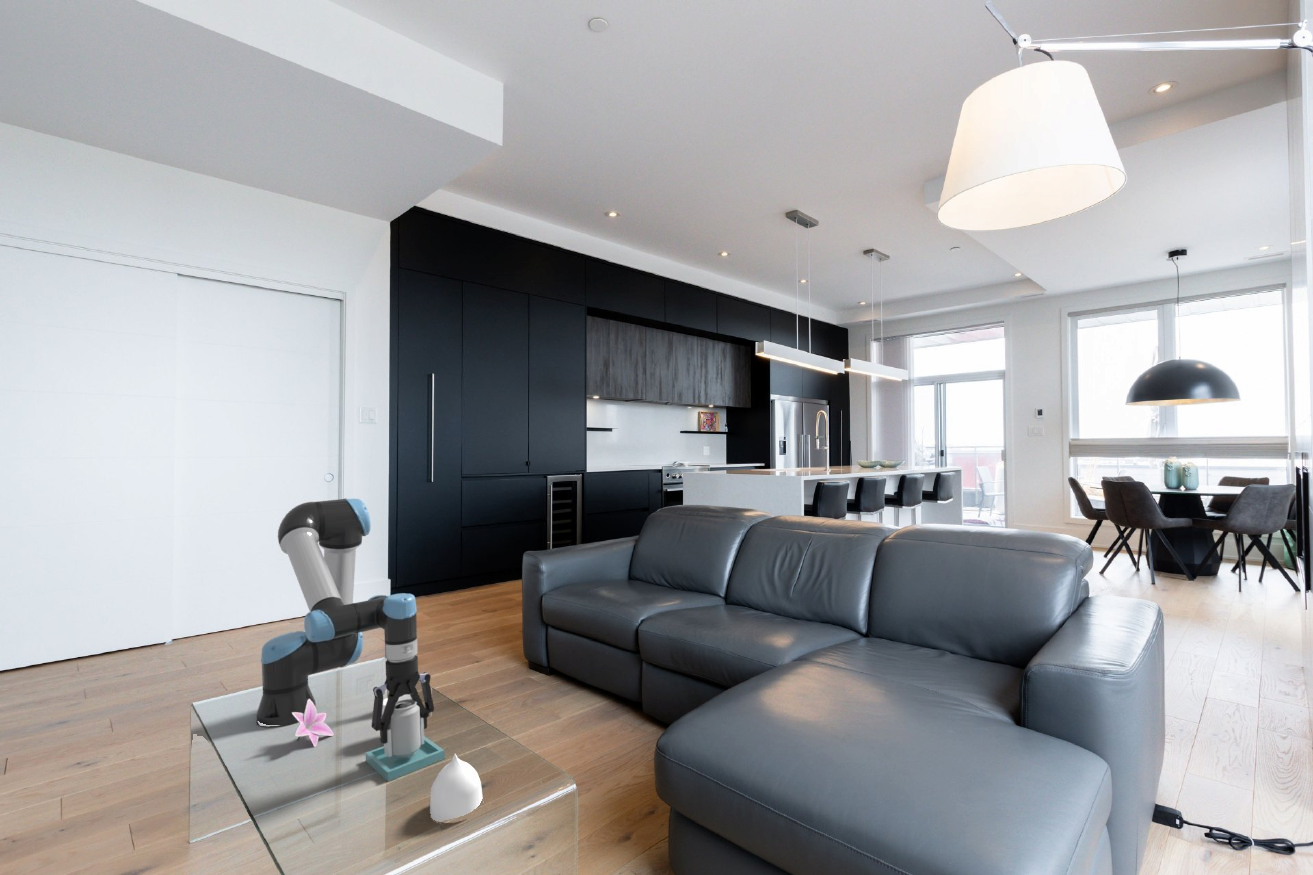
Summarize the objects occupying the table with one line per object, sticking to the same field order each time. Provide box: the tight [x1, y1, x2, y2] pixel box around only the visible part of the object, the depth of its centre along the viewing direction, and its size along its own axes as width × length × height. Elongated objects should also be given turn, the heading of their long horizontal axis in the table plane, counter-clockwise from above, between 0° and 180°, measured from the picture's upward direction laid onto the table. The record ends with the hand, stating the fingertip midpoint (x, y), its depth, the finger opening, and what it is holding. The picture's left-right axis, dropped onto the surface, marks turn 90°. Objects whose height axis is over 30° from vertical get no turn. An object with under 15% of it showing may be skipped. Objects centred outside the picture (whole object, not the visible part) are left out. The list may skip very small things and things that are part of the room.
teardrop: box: [429, 753, 484, 822], centre depth 135 cm, size 11×11×12 cm
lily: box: [292, 699, 335, 748], centre depth 169 cm, size 12×12×10 cm
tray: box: [365, 735, 445, 782], centre depth 157 cm, size 14×14×2 cm
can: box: [388, 699, 421, 757], centre depth 157 cm, size 8×8×12 cm
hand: (404, 748), depth 157 cm, fingers closed on can, 7 cm apart
